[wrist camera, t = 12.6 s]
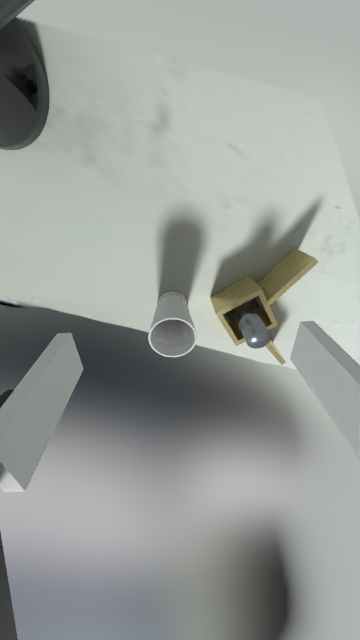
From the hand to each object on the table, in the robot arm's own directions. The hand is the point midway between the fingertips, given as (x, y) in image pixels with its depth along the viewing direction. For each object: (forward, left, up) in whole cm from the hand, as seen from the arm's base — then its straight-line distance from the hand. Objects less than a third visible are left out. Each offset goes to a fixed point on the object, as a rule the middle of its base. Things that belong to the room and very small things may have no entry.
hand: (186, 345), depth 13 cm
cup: (+11, -8, -32) cm, 35 cm away
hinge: (+23, +9, -32) cm, 40 cm away
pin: (+18, +4, -32) cm, 37 cm away
